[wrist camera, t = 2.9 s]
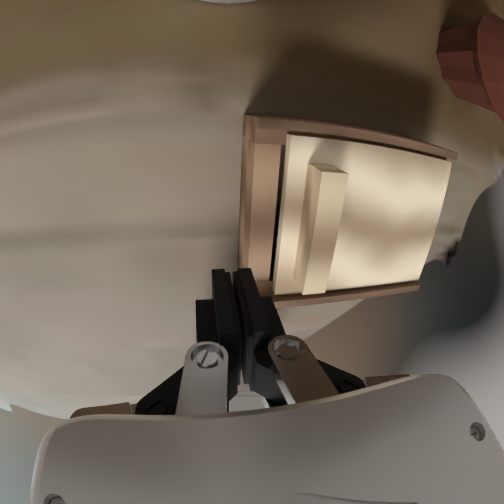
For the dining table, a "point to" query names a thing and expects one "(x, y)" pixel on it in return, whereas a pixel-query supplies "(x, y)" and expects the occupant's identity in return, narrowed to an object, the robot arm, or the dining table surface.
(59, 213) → the dining table surface
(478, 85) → the muffin
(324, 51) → the dining table surface
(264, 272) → the walnut box
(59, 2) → the dining table surface
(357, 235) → the lid
